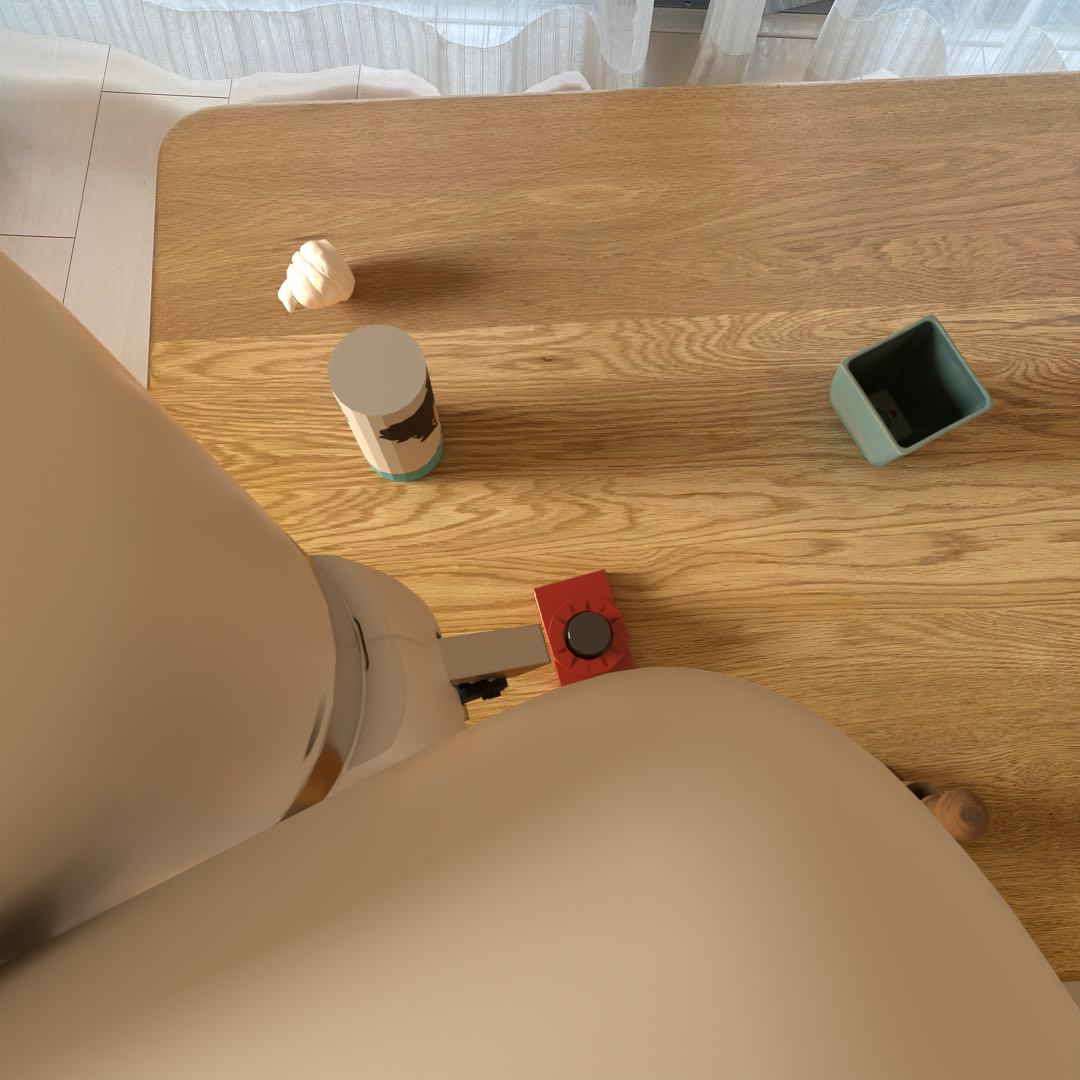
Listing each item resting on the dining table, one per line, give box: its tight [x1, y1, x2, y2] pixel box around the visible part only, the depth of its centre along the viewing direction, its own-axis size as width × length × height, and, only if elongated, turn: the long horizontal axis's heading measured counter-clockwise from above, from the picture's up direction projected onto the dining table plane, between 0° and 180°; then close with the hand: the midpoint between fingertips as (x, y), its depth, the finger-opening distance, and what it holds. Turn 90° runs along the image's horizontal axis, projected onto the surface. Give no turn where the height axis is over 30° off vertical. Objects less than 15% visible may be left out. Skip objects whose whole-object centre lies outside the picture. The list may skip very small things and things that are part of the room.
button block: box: [532, 568, 636, 687], centre depth 73 cm, size 10×6×3 cm, turn 16°
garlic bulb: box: [277, 239, 356, 314], centre depth 79 cm, size 6×6×5 cm
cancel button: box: [567, 612, 611, 657], centre depth 71 cm, size 3×3×2 cm
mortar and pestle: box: [884, 764, 991, 843], centre depth 63 cm, size 7×6×18 cm
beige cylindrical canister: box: [327, 324, 445, 483], centre depth 71 cm, size 7×7×15 cm
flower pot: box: [828, 313, 996, 468], centre depth 75 cm, size 9×9×9 cm
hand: (335, 727), depth 35 cm, fingers open, 6 cm apart
